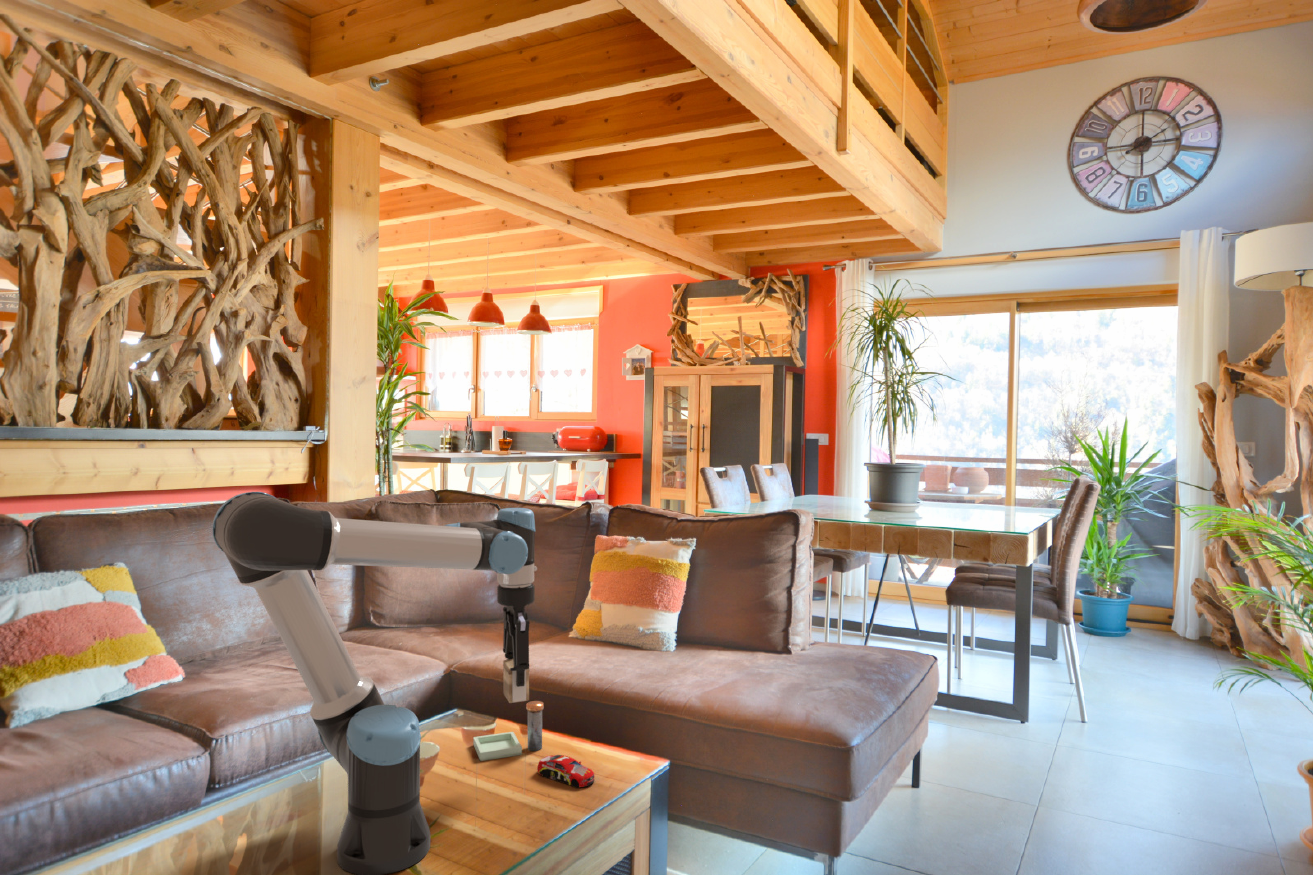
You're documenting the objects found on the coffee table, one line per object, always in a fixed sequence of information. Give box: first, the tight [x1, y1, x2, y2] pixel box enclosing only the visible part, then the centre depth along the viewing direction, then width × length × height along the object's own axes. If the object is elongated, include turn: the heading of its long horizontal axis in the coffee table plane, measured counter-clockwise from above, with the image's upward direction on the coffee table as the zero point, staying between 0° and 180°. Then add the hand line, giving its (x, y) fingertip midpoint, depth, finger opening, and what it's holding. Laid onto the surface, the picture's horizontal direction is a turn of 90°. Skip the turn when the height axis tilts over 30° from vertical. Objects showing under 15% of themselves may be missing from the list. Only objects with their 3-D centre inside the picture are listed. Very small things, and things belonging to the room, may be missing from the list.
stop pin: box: [525, 700, 545, 752], centre depth 184 cm, size 4×4×10 cm
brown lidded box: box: [502, 659, 530, 704], centre depth 170 cm, size 4×6×7 cm
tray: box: [472, 731, 523, 762], centre depth 183 cm, size 9×9×2 cm
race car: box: [537, 754, 595, 789], centre depth 170 cm, size 13×5×4 cm, turn 56°
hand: (515, 695), depth 170 cm, fingers closed on brown lidded box, 6 cm apart
